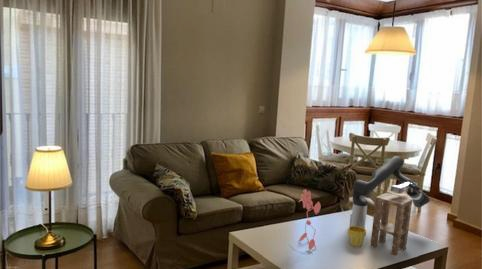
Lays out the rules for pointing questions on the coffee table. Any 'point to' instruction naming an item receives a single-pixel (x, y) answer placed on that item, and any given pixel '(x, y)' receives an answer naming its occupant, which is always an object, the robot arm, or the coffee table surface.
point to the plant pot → (356, 235)
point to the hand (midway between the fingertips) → (406, 183)
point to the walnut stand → (393, 229)
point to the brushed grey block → (400, 187)
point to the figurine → (307, 203)
